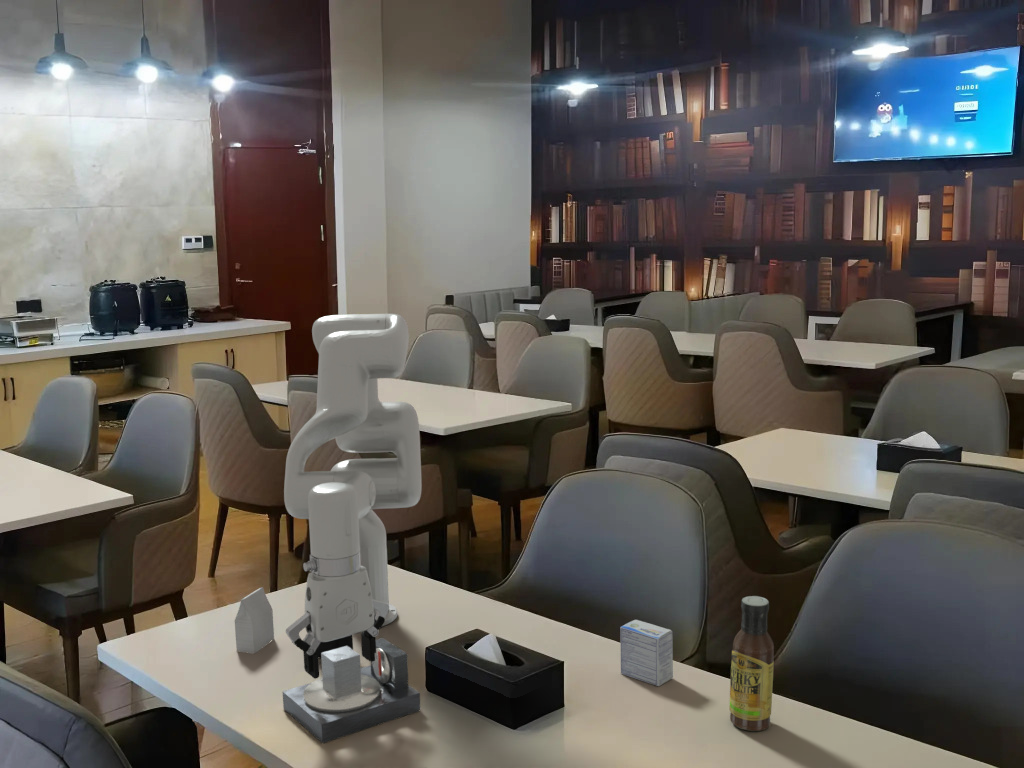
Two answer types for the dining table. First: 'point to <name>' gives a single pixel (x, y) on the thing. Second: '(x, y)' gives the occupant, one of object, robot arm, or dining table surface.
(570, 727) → the dining table surface
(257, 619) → the grey house-shaped block
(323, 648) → the battery
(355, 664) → the light grey rectangular block
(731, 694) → the sauce bottle
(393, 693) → the dial scale
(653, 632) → the medicine box
